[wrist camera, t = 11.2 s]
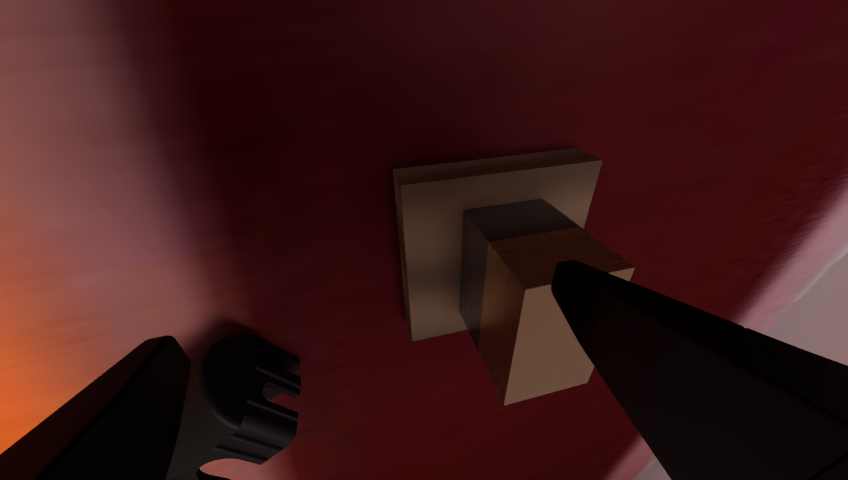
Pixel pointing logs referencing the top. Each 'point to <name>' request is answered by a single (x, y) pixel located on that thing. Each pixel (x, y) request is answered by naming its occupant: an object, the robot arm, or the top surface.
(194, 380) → the end cap
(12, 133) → the top surface
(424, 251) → the walnut stand
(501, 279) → the block
